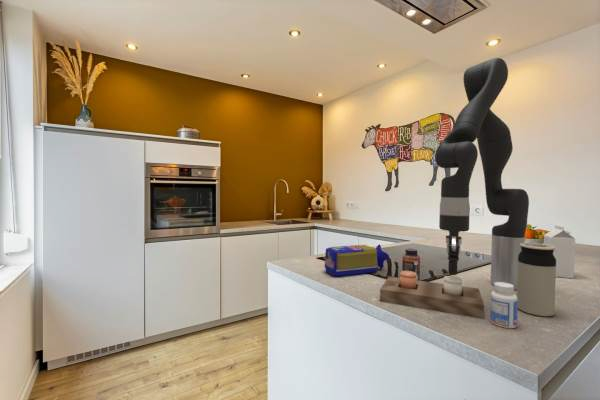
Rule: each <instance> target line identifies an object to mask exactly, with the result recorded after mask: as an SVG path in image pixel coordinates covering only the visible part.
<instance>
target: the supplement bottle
mask: <svg viewBox="0 0 600 400" xmlns="http://www.w3.org/2000/svg"><path fill="white" fill-rule="evenodd" d="M404 252H405V254H403V255H402V262H401V263H402V264H401V265H402V267H401V269H402V271H413V272H415V273H416V280H418V281H421V277H420V275H421V257H420V256H419V255H418V249H417V248H416V249H415V248H405V251H404Z"/></svg>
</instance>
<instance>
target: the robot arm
mask: <svg viewBox="0 0 600 400" xmlns="http://www.w3.org/2000/svg"><path fill="white" fill-rule="evenodd" d="M508 78H509V68H508V65H507V62H506V61H505V60H504V59H503V58H501V57H495V58H491V59H489V60H486V61H483V62H480V63H479V64H478V63H477V64H475V65H473V66H470V67H468V68H466V70H465V71H464V73H463V78H462V79H463V87H464V91H465V94H466V95H465V96H466V97H467V101H468V103H467V104H466V105H464V107H463V108H462V109H461V110H460V112H459V113H458V115H457V117H456V119H455V122H454V123H453V126H452V129H451V130H450V132H449V133H448V134H447V135H446V136H445V137H444V138H443V140H442V141H441V142H440V143H439V144H438V147H437V148H436V151H435V153H434V161H435V163H436V165H437V167H439V168H442V169H456V168H457V170H456V172H455V173H454V174H453V175H449V176H445V177H443V178H442V180H441V185H440V201H439V226H438V227H439V229H440V230H442V231H447V232H449V235H445V243H446V253H447V255H448V256H447V261H448V272H447V273H448V274H449V275H451V276H457V275H458V262H459V260H460V258H459V255H460V254H461V245H462V243H463V242H462V241H463V239H462V236H459V235H460V234H459V233H460V232H468V231H469V230H470V214H471V213H470V212H471V211H470V207H471V206H470V205H471V204H470V183H471V179H472V174H473V172H474V169H475V166H476V164H477V161H478V156H479V155H480V160H481V165H482V170H483V179H484V187H485V189H484V191H485V199H486V205H487V210H488V211H489V212H490V213H491V214H493V215H495V216H508V219H507V221H506V222H504V223H502V224H498V225H497V224H496V225H494V226H493V227H492V228H491V249H490V250H491V254H490V255H491V256H490V259H491V260H490V284H491V285H492V286H494V283H495V282H504V283H509V284H512V285H513V286H514V291H515V290H516V291H517V279H518V255H519V253H520V252H521V251H522V250H521V246H520V243H526V242H525V241H526V231H527V227H528V217H529V209H530V208H529V206H530V199H529V198H530V197H529V194H528V193H527V191H526V190H525V189H522V188H503V185H502V175H503V172H504V169H505V167H506V166H507V164H508V162H509V160H510V159H511V156H512V154H513V141H512V136H511V130H510V128H509V126H508V125H507V124H506V123H505V122H504V121H503V120H502V119H501V118H500V117H499V116H498V115H496V114H495V113H494V112H493V111H492V110H491V107H492V106H493V104H494V103H495V102H496V100H497V99H498V97H499V95H500V93H501V92H502V90H503V89H504V87H505V85H506V84H507V82H508ZM475 141H477V145H476V144H475V143H474V142H475ZM477 147H478V148H477ZM478 150H479V152H478Z"/></svg>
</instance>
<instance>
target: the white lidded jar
mask: <svg viewBox="0 0 600 400" xmlns="http://www.w3.org/2000/svg"><path fill="white" fill-rule="evenodd" d="M443 284H444V294H448V295H455V296H462V286H463V279H462V278H461V277H458V276H456V275H446V276H443Z"/></svg>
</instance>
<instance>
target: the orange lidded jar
mask: <svg viewBox="0 0 600 400" xmlns="http://www.w3.org/2000/svg"><path fill="white" fill-rule="evenodd" d="M399 274H400V275H399V278H400V287H401V288H408V289H414V290H416V273H415V272H413V271H400V273H399Z"/></svg>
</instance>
